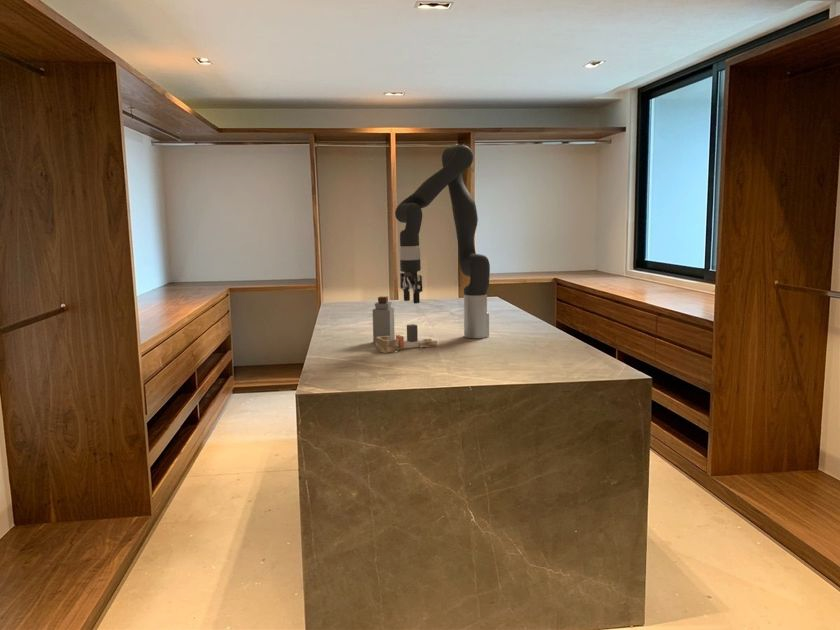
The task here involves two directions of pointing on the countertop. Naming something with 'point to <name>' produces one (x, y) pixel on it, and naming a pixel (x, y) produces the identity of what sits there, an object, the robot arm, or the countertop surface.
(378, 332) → the perfume bottle
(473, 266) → the robot arm
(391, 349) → the box
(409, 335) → the gray block
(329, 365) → the countertop surface
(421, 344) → the rail guide
